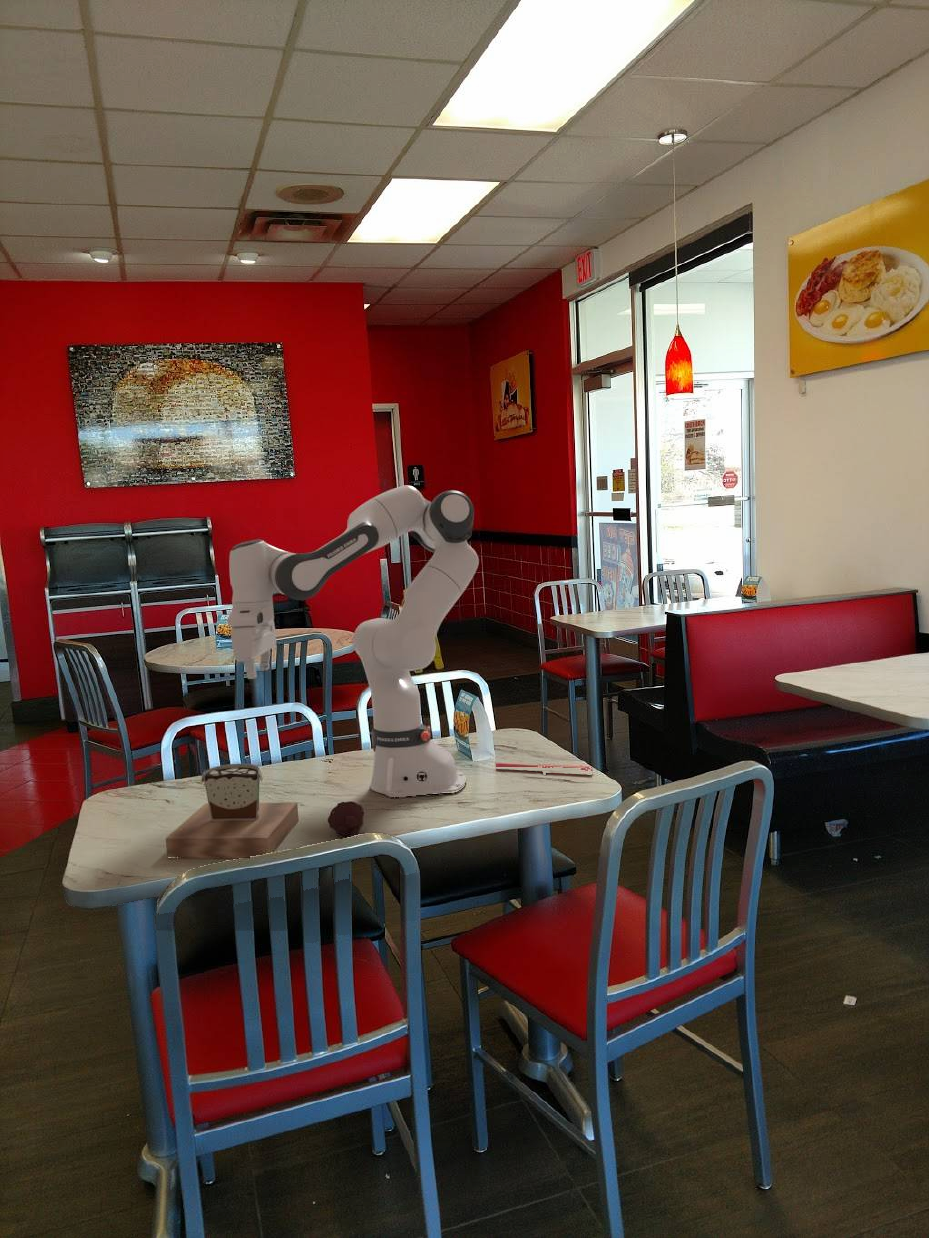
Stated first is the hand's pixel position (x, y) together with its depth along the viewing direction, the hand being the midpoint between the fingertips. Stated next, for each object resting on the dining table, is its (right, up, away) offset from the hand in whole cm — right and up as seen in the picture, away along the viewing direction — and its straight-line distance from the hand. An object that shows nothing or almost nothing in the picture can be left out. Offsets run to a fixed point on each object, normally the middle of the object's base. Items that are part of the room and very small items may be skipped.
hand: (258, 674), depth 203 cm
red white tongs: (+65, -25, +13) cm, 71 cm away
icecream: (+23, -31, -22) cm, 44 cm away
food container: (+1, -28, -20) cm, 34 cm away
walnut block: (+1, -32, -22) cm, 39 cm away
